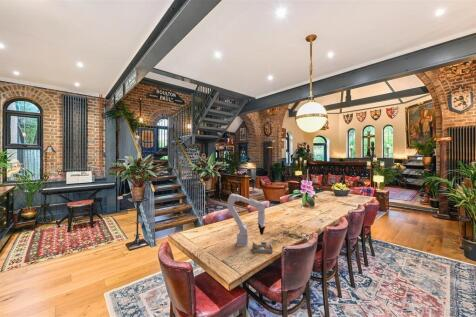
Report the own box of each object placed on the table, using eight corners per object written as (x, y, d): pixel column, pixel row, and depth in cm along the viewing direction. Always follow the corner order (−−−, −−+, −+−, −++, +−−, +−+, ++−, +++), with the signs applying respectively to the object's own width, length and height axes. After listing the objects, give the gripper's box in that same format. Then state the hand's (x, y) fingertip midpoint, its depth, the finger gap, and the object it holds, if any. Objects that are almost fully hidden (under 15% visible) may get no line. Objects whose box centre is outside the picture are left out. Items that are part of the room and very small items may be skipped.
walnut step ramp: (253, 252, 159) (253, 245, 159) (252, 247, 167) (252, 241, 167) (260, 252, 159) (260, 245, 159) (259, 247, 167) (259, 241, 167)
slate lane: (253, 252, 159) (253, 246, 159) (253, 247, 167) (253, 242, 167) (272, 252, 158) (272, 247, 158) (271, 247, 166) (271, 242, 166)
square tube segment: (261, 246, 168) (261, 244, 168) (260, 244, 173) (260, 242, 173) (266, 246, 168) (266, 244, 168) (266, 244, 173) (266, 242, 173)
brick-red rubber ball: (271, 248, 159) (266, 249, 158) (270, 251, 161) (265, 252, 160) (269, 244, 162) (264, 244, 162) (269, 247, 164) (264, 247, 164)
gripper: (267, 219, 165) (266, 236, 165) (265, 214, 180) (265, 229, 180) (258, 219, 165) (258, 236, 166) (257, 214, 180) (257, 229, 180)
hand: (261, 232), depth 173 cm, fingers open, 7 cm apart
